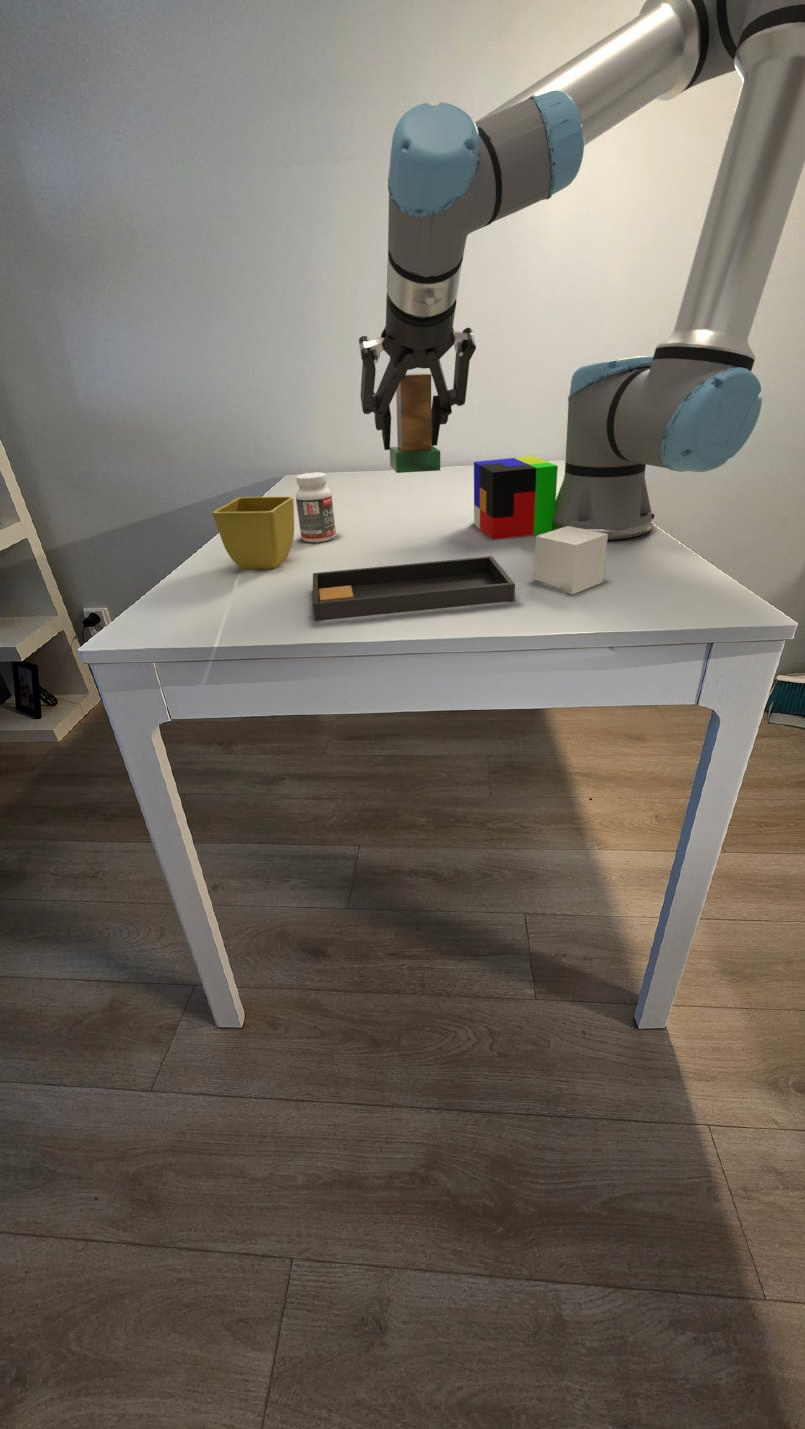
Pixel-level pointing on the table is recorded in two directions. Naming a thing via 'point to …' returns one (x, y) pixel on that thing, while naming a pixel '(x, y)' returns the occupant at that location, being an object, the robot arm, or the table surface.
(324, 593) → the orange flat block
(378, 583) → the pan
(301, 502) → the pill bottle
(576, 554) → the beige cube
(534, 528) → the puzzle toy
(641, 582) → the table surface
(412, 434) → the stacked blocks
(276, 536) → the flower pot
